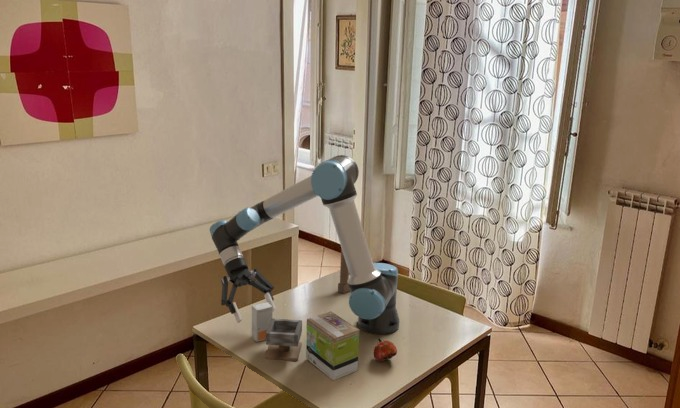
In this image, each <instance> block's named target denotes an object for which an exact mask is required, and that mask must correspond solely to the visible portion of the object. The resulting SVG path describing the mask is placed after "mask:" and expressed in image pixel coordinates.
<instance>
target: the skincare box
mask: <svg viewBox="0 0 680 408" xmlns="http://www.w3.org/2000/svg"><path fill="white" fill-rule="evenodd" d="M273 312H274V311H273V307H272V306H271V305H270V304H269V303H268V302H267V301H266V302H262V303H257V304H254V305H251V338H252V339H253V340H254V341H255V342H256V343H258V342H261V341H266V332H267V329H268V327H269V324H270V322H271V319H273Z"/></svg>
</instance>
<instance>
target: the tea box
mask: <svg viewBox="0 0 680 408" xmlns="http://www.w3.org/2000/svg"><path fill="white" fill-rule="evenodd" d="M359 341H360V329H359V328H358V327H356V326H355V325H353V324H351V323H350V322H348V321H347V320H345V319H343V318H342V317H340V316H339V315H337V314H336V313H334V312H333V311H330V310H329V311H327V312H324V313H322V314H319V315H315V316H311V317H309V318H307V319H306V342H305V343H306V345H305V346H306V349H305V350H306V351H305V352H306V355H305V356H306V357H305V358H306V359H307V361H309V362H310V363H311V364H313V365H314V366H315V367H316V368H317V369H318V370H320V371H321V372H322V373H323V374H325V375H326V376H327V377H328V378H329V379H330V380H332V381H335V380H338V379H341V378H343V377H346V376H348V375H351V374H353V373H355V372H357V371H358V366H359V365H358V364H359V348H360V347H359V345H360V344H359V343H360V342H359Z"/></svg>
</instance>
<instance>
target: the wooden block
mask: <svg viewBox="0 0 680 408" xmlns="http://www.w3.org/2000/svg"><path fill="white" fill-rule="evenodd" d="M339 269H340V271H339V282H338V284H337V291H338V292H339V293H342V294H346V293H349V292H350V289H349V286H348V282H347V281H348V279H349V277H350V274H349V270H348V267H347V264H346V261H345V258H344V254H343V251H342V249H341V250H340V267H339Z"/></svg>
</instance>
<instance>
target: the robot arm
mask: <svg viewBox="0 0 680 408" xmlns="http://www.w3.org/2000/svg"><path fill="white" fill-rule="evenodd" d="M359 171H360V170H359V166H358V164H357V161H355V160H354V159H353V158H352V157H350V156H348V155H346V154H345V155H344V154H343V155H342V154H340V155H334V156H333V157H331V158H328V159H326V160H324V161H322V162H320V163H318V165H317V166H316V167H315V168H314V169H313V171H312V173H311V175H309V176H308V177H305V178H304V179H302V180H300V181H298V182H296V183H294V184H293V185H291V186H289V187H287V188H285V189H283V190H281V191H280V192H278V193H275V194H274V195H271V196H270V197H268V198H266V199H264V200H263V201H260V202H258V203H256V204H255V205H254V204H253V206H251V207H249V206H248V207H245V208H243V209H241V210H240V211H238V213H237V214H236V215H234V216H233V217H232V218H231V219H230V220H228V221H227V220H225V219H224V220H223V219H221V220H218V221H216V222H214V223H212V225H211V226H210V227H209V233H210V237H211V240H212V241H213V243H214V246H215V248H216V251H218V256H219V258H220V259H221V262H222V264H223V266H224V269H225V273H226V274H227V275H224V276H223V277H222V278H221V279H220V282H221V286H222V288H221V300H220V305H221V306H226V307H227V308H228V309H229V312H230V314H231V315H233V316H234V318H235V321H236V323H237V324H239V323H240V322H242V321H243V318H242V317H243V316H241V312H240V311H239V308H238V306H237V303H236V301H234V298H235V295H236V292H237V289H238V287H239V288H241V287H242V286H247V285H248V286H251V287H253V288H255V289H257V290H258V291H260V292H261V293H263V294H264V295H263V297H264V299H265V301H266V302H268V303H269V304H270V305H271V306H272V307H273V312H274V311H276V310H277V307H276V305H275V303H274V300H275V298H274V297H273V294H272V291H273V290H274V289H275V286H274V285H273V284H272V283H271V282H270V280H268V279H267V278H266V277H265V276H263V275H262V273H260V271H259V270H258V268H257V267H256V268H255V267H254V269H253V270H250V269H249V267H248V264H247V262H246V259H245V258H244V254H243V253H242V250H241V248H240V246H239V243H238V241H240V239H242V238H243V237H244V236H246V235H247V234H248V233H250V232H252V231H253V230H255V229H256V228H258V227H260V226H261V225H264V224H265V223H268V222H269V221H271V220H273V219H275V218H276V217H279V216H281V215H283V214H284V213H287V212H288V211H291V210H293V209H295V208H298V207H299V206H301V205H303V204H304V203H306V202H308V201H311V200H313V199H315V198H318V197H320V199H321V203H322V205H323V206H324V207H326V208H327V209H329V211H330V216H331V219H332V222H333V226H334V228H335V232H336V235H337V237H338V241H339V244H340V247H341V250H342V251H343V254H344V258H345V261H346V264H347V267H348V270H349V274H350V275H349V279H348V281H347V282H348V286H349V289H350V291H349V292H350V295H349V297H348V305H349V308H350V310H351V311H352V313H353V314H354V316H356V317H357V325H358V327H359V328H360V329H361V330H362V331H364V332H367V333H370V334H374V335H375V334H376V335H386V334H387V335H389V334H392V333H394V332H396V331H397V330H398V329H400V323H401V322H400V317H399V313H398V310H397V305H396V304H397V291H398V290H397V289H398V280H399V279H398V278H399V270H398V267H396V266H395V265H392V264H390V263H384V262H373V258H372V255H371V252H370V251H371V250H370V248H369V245H368V242H367V239H366V236H365V233H364V229H363V226H362V225H363V224H362V222H361V219H360V216H359V213H358V209H357V207H356V203H355V199H356V197H357V196H358V192H357V190H356V187H355V186H356V185H355V184H356V182H357V180H358V178H359V174H360V173H359ZM229 282H230V283H232V286H231V290H230V293H229V295H228V292H229Z"/></svg>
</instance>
